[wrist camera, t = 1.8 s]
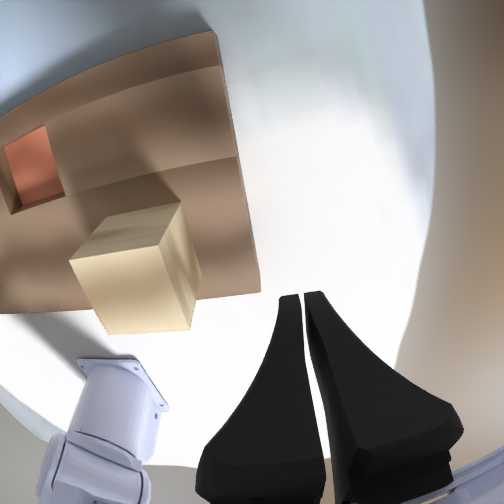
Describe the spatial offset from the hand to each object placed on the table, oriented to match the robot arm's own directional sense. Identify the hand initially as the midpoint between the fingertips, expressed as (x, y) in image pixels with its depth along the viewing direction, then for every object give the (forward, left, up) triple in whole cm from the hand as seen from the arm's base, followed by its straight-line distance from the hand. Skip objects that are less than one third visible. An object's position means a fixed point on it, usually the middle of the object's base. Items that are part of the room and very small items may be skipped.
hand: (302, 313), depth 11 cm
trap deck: (+4, +20, -9) cm, 22 cm away
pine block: (0, +8, -7) cm, 11 cm away
